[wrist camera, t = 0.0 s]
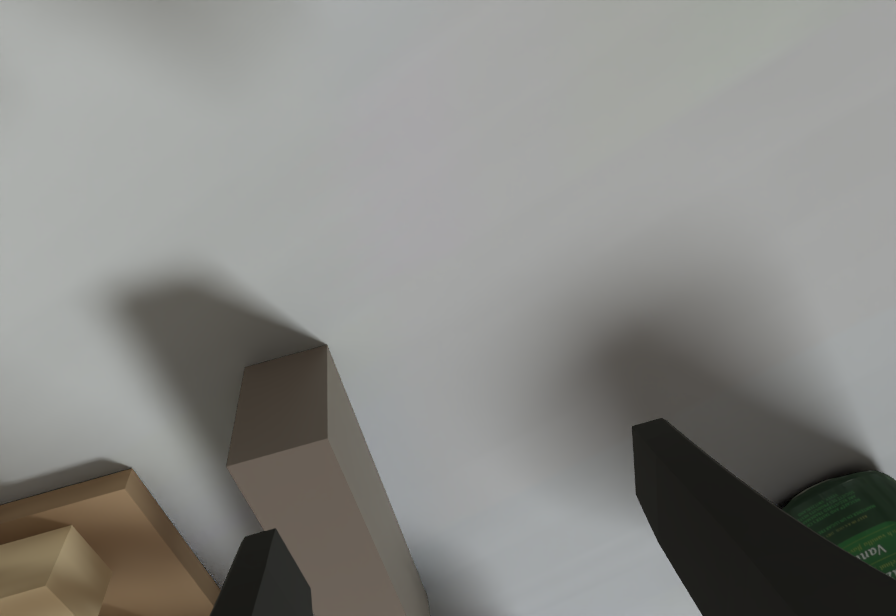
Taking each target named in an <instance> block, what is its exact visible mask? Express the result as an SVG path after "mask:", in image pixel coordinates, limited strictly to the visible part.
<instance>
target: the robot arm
mask: <svg viewBox="0 0 896 616" xmlns="http://www.w3.org/2000/svg"><path fill="white" fill-rule="evenodd" d="M632 435H633V452H634V469H635V486H636V495H637V498H638V500H639V502H640V504H641V506H642V509H643V511H644V513H645V515H646V517H647V520H648V522H649V524H650V526H651V528H652V530H653V532H654V534H655V536H656V538H657V541H658V543H659V544H660V546H661V548H662V549H663V551H664V553H665V554H666V556H667V558H668V559H669V561H670V563H671V564H672V566H673V568H674V569H675V571H676V573H677V574H678V576H679V578H680V579H681V581H682V583H683V584H684V586H685V587H686V589H687V591H688V592H689V594H690V596H691V597H692V599H693V601H694V602H695V604H696V606H697V607H698V609H699V610H700V612H701V614H702V615H703V616H896V579H894V578H892V577H890V576H889V575H887V574H885V573H883V572H881V571H880V570H878V569H876V568H874V567H872V566H871V565H869V564H867V563H866V562H864V561H862V560H861V559H859V558H857V557H855V556H854V555H852V554H850V553H849V552H847V551H845V550H844V549H842V548H840V547H839V546H837V545H835V544H834V543H832V542H830V541H829V540H827V539H826V538H824V537H823V536H821V535H819V534H818V533H816V532H815V531H813V530H812V529H810V528H809V527H807V526H806V525H804V524H803V523H801V522H800V521H798V520H797V519H795V518H794V517H792V516H791V515H789V514H788V513H786V512H785V511H783V510H782V509H780V508H779V507H777V506H776V505H775V504H773V503H772V502H770V501H769V500H767V499H766V498H765V497H763V496H762V495H760V494H759V493H758V492H756V491H755V490H754V489H752V488H751V487H750V486H748V485H747V484H745V483H744V482H743V481H741V480H740V479H739V478H737V477H736V476H735V475H733V474H732V473H731V472H729V471H728V470H727V469H725V468H724V467H723V466H722V465H720V464H719V463H718V462H716V461H715V460H714V459H713V458H711V457H710V456H709V455H708V454H706V453H705V452H704V451H703V450H701V449H700V448H699V447H698V446H696V445H695V444H694V443H693V442H692V441H690V440H689V439H688V438H687V437H685V436H684V435H683V434H682V433H681V432H679V431H678V430H677V429H676V428H675V427H674V426H672V425H671V424H670V423H669V422H668V421H666V420H664V419H663V418H660V419H656V420H653V421H649V422H646V423H642V424H639V425H635V426H632ZM210 616H313V611H312V597H311V588H310V586H309V584H308V583H307V581H306V579H305V577H304V576H303V574H302V572H301V571H300V569H299V567H298V565H297V564H296V562H295V560H294V559H293V557H292V555H291V553H290V552H289V550H288V548H287V547H286V545H285V543H284V541H283V540H282V538H281V536H280V534H279V533H278V531H277V529H276V528H274V529H271V530H267V531H263V532H260V533H256V534H253V535H249V536H246V537H245V538H244V539H243V541H242V542H241V545H240V547H239V549H238V552H237V554H236V556H235V559H234V561H233V563H232V566H231V568H230V570H229V573H228V575H227V577H226V580H225V582H224V584H223V587H222V589H221V591H220V593H219V596H218V598H217V600H216V602H215V604H214V607H213V609H212V611H211V613H210Z"/></svg>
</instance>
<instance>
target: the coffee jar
mask: <svg viewBox="0 0 896 616" xmlns="http://www.w3.org/2000/svg"><path fill="white" fill-rule="evenodd" d="M782 510H783V511H785V512H786V513H788V514H789V515H791V516H792V517H794V518H795V519H797V520H798V521H800V522H801V523H803V524H804V525H806V526H807V527H809V528H810V529H812V530H813V531H815V532H816V533H818V534H819V535H821V536H823V537H824V538H826V539H827V540H829V541H830V542H832V543H834V544H835V545H837V546H839V547H840V548H842V549H844V550H845V551H847V552H849V553H850V554H852V555H854V556H855V557H857V558H859V559H861V560H862V561H864V562H866V563H867V564H869V565H871V566H872V567H874V568H876V569H878V570H880V571H881V572H883V573H885V574H887V575H889V576H890V577H892V578H894V579H896V481H895V480H894V479H893V478H891V477H890V476H888V475H886V474H884V473H881V472H878V471H873V470H872V471H865V472H858V473H854V474H851V475H846V476H842V477H838V478H832V479H828V480H825V481H823V482H820V483H818V484H816V485H814V486H812V487H809V488H807V489H806V490H804V491H802V492H801V493H799V494H798V495H796V496H795V497H793V499H792V500H791V501H790V502H789V503H788V504H787V505H786V506H785V507H784V508H782Z"/></svg>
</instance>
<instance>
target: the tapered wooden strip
mask: <svg viewBox="0 0 896 616" xmlns="http://www.w3.org/2000/svg"><path fill="white" fill-rule="evenodd" d="M226 467H227V469H228V471H229V472H230V474H231V476H232V477H233V479H234V481H235V482H236V484H237V486H238V487H239V489H240V491H241V493H242V494H243V496H244V498H245V499H246V501H247V503H248V504H249V506H250V508H251V509H252V511H253V513H254V514H255V516H256V518H257V519H258V521H259V523H260V524H261V526H262V528H263V529H264V531H267V530H271V529H274V528H276V529H277V531H278V533H279V534H280V536H281V538H282V540H283V541H284V543H285V545H286V547H287V548H288V550H289V552H290V553H291V555H292V557H293V559H294V560H295V562H296V564H297V565H298V567H299V569H300V571H301V572H302V574H303V576H304V577H305V579H306V581H307V583H308V584H309V586H310V588H311V597H312V611H313V613H314V615H315V616H430V610H429V604H428V597H427V594H426V592H425V589H424V587H423V584H422V582H421V579H420V577H419V574H418V572H417V569H416V567H415V564H414V562H413V559H412V557H411V554H410V552H409V549H408V547H407V544H406V542H405V539H404V537H403V534H402V531H401V529H400V526H399V524H398V521H397V519H396V516H395V514H394V511H393V509H392V506H391V504H390V501H389V499H388V496H387V494H386V491H385V489H384V486H383V484H382V481H381V479H380V476H379V474H378V471H377V469H376V466H375V464H374V461H373V459H372V456H371V454H370V451H369V449H368V446H367V444H366V441H365V438H364V436H363V433H362V431H361V428H360V426H359V423H358V421H357V418H356V416H355V413H354V411H353V408H352V406H351V403H350V401H349V398H348V396H347V393H346V391H345V388H344V386H343V383H342V381H341V378H340V376H339V373H338V371H337V368H336V366H335V363H334V361H333V358H332V356H331V353H330V351H329V348H328V346H327V345H324V346H321V347H317V348H313V349H310V350H306V351H302V352H299V353H295V354H291V355H288V356H284V357H280V358H277V359H273V360H269V361H266V362H262V363H259V364H255V365H251V366H248V367H245V369H244V374H243V379H242V385H241V390H240V395H239V401H238V406H237V411H236V417H235V422H234V427H233V433H232V438H231V443H230V449H229V454H228V459H227V465H226Z"/></svg>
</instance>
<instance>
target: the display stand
mask: <svg viewBox="0 0 896 616" xmlns="http://www.w3.org/2000/svg"><path fill="white" fill-rule="evenodd" d="M220 591H221V590H220V589H219V587H218V586H217V585H216V583H215V582H214V580H213V579H212V578H211V576H210V575H209V574H208V572H207V571H206V569H205V568H204V567H203V565H202V564H201V563H200V561H199V560H198V558H197V557H196V556H195V554H194V553H193V552H192V550H191V549H190V547H189V546H188V545H187V543H186V542H185V541H184V539H183V538H182V536H181V535H180V534H179V532H178V531H177V529H176V528H175V527H174V525H173V524H172V523H171V521H170V520H169V518H168V517H167V516H166V514H165V513H164V512H163V510H162V509H161V507H160V506H159V505H158V503H157V502H156V501H155V499H154V498H153V496H152V495H151V494H150V492H149V491H148V490H147V488H146V487H145V485H144V484H143V483H142V481H141V480H140V479H139V477H138V476H137V474H136V473H135V472H134V470H133V469H128V470H125V471H121V472H118V473H114V474H110V475H107V476H103V477H100V478H96V479H93V480H89V481H85V482H82V483H78V484H75V485H71V486H68V487H64V488H60V489H57V490H53V491H50V492H46V493H43V494H39V495H35V496H32V497H28V498H25V499H21V500H18V501H14V502H10V503H7V504H3V505H0V616H210V613H211V611H212V609H213V607H214V604H215V602H216V600H217V598H218V596H219V593H220Z"/></svg>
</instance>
